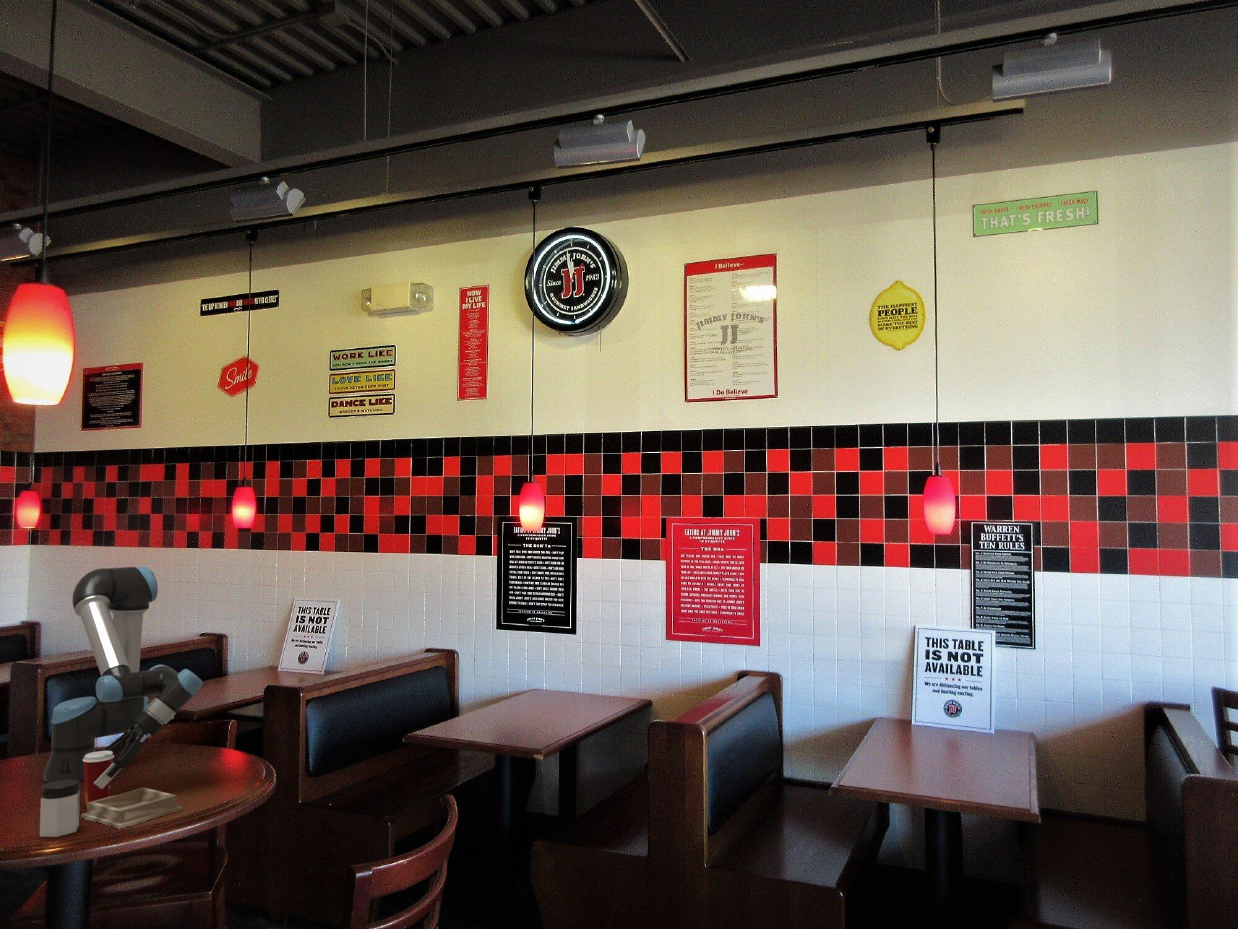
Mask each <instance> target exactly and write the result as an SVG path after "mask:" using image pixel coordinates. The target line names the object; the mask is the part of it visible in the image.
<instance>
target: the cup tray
mask: <svg viewBox="0 0 1238 929" xmlns="http://www.w3.org/2000/svg"><path fill="white" fill-rule="evenodd" d="M177 796H178V795H176V794H173V793H172V794H171V793H169V792H164V791H160V790H156V789H153V788H152V789H151V788H148V787H139V788H136V789H133V790H130V791H125V792H122V793H118V794H115V795H110V797H107V798H103V799H99V800H96V801H92V802H88V803H87V807H86V811H87V812H85V813H82V814H81V815H80V816H81V817H80V818H81V819H82V818H84V819H83V820H85V821H89V820H90V822H92V821H93V822H94V823H96V822H98V823H97V824H99V823H102V824H101V825H103V824H105V825H104V826H106V825H109V826H108V827H110V826H113V827H115V828H114V829H116V828H118V830H122V829H121V828H123V829H126V828H128V827H127V826H129V827H132V826H135V825H139V824H141V822H142V823H146V822H148V821H147V820H149V821H151V820H150V819H152V820H154V819H153V818H155V819H157V818H156V817H159V818H161V817H160V816H162V817H164V816H163V815H165V816H167V814H168V815H170V814H169V813H172V814H174V813H177V812H181V811H182V810H183V806H181V805H178V804H177V801H178V798H177ZM138 823H139V824H138ZM113 827H112V828H113ZM125 827H126V828H125Z"/></svg>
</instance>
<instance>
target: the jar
mask: <svg viewBox="0 0 1238 929" xmlns="http://www.w3.org/2000/svg"><path fill="white" fill-rule="evenodd" d="M40 795H41V798H40V816H39V837H40V838H58V837H63V836H66V835H71V834H74V833H76V832H77V831H78V828H79V827H80V825H79V824H80V799H81V798H80V797H81V796H80V795H81V790H80V780H79V781H78V780H74V779H68V780H59V781H54V782H50V783H49V782H46V783H45V784H43V785H42V786H41V794H40Z"/></svg>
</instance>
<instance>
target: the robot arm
mask: <svg viewBox="0 0 1238 929" xmlns="http://www.w3.org/2000/svg"><path fill="white" fill-rule="evenodd" d="M158 591H159V588H158V580H157V578H156V575H155V573H154V572H153V570H152V569H151V568H148V567H145V566H142V567H141V566H125V567H114V568H113V567H111V568H110V567H109V568H108V567H107V568H106V567H105V568H103V567H102V568H96V569H93V570H91V571H89V572H87V573H86V574H85V575H84V576H82V577H81V578H80V579H79V580H78V582H77V583H76V585H75V587H74V590H73V592H72V593H73V594H72V607H73V609H74V613H75V614H76V615H77V616H78V617H80V618H81V621H82V624H83V627H84V630H85V634H86V635H87V639H88V641H89V645H90V647H91V649H92V653H93V656H94V658H95V662H96V665H97V667H98V670H99V673H100V674H99V675H100V677H99V678H98V679H97V681H96V684H95V692H96V693H95V695H96V697H95V696H85V697H84V696H83V697H76V698H72V699H68V700H65V701H63V702H60V703H58V704H57V705H56V706H55V707H54V708H53V710H52V717H51V721H50V723H51V747H50V750H51V751H50V756H49V758H48V761H47V763H46V767H45V769H44V771H43V781H44V782H46V783H50V782H54V781H59V780H68V779H74V780H78V781H79V782H80V781H83V780H84V781H85V779H84V762H83V759H84V756H85V755H86V754H88V753H92V752H97V751H96V739H98V738H105V737H110V736H115V735H120V736H118V738H116V739H115V740H114V741H113V742H111V743H110V744H109V745H108V746H106V747H105V749H104V751H112V752H113V755H114V758H113V763H112V765H111V766H110V767H109V768H108V769H107V770H106V771H105V772H104V773H103V774H102V775H101V776H100V777H99V778H98V779H97V780H96V781H95V782H94V784H95V785H97V786H98V787H100V788H101V789H103V788H104V787H105V786H106V785H107V784H108V783H109V782H110V780H111V781H112V780H113V778H115V777H116V775H117V774H119V772H120V771H122V770H123V769H126V768H128V767H129V765H130V763H131V762H133V760H134V758H135V757H136V756H137V755H138V753H139V752H140V750H141V749H142V748H143V746H144V745H145V744H146V743H147V742H148V741H149V740H150V737H148V735H150V736H152V737H155V736H157V735H158V733H159V732H160V731H161V730H162V729H164V725H166V724H167V723H168V722H170V721H171V720H173V719H175V715H176V714H177V713H178V712H179V711H180V710H181V709H182V708H183V707H184V706H185V705H186V704H187V703H188V702H189V701H190V700H191V699H192V698H193V697H194V696H195V695H196V694H197V692H199V690H200V689H201V687H203V686H204V685H203V684H204V682H203V680H202V679H201V678H199V677H198V676H197V675H196V674H195V673H194V672H192V670H189V669H187V668H184V669H182V670H181V671H180V672H178V671H176V670H175V669H173V668H172V667H170V666H167V665H165V664H157V665H154V666H152V667H150V669H149V670H143V671H140V665H141V662H140V661H141V651H142V650H141V649H142V636H143V635H142V634H143V622H144V614H145V612H147V611H148V610H149V609H150V603H152V602H155V600H156V599H157V597H158V593H159V592H158ZM111 614H112V615H111ZM151 696H155V698H153V700H152V701H150V700H149V698H148V697H151ZM149 701H150V703H149ZM119 753H120V755H119V756H118V757H117V758H116V755H118V754H119ZM115 758H116V759H115Z"/></svg>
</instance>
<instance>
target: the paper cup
mask: <svg viewBox="0 0 1238 929" xmlns="http://www.w3.org/2000/svg"><path fill="white" fill-rule="evenodd" d="M113 758H114V755H113V752H112V751H106V750H101V751H96V752H92V753H88V754H86V755H85V756H84V759H83V762H84V799H85V807H86V808H87V803H88V802H92V801H96V800H99V799H103V798H107V797H110V796H111V786H112V779H111V780H110V782H109V783H108V784H107V785H106V786H105V787H104V788H103V789H101V788H100V787H98V786H97V785H95V784H94V782H95V781H96V780H97V779H98V778H99V777H100V776H101V775H102V774H103V773H104V772H105V771H106V770H107V769H108V768H109V767H110V766H111V765H112V763H113V761H114V759H115V758H114V759H113Z"/></svg>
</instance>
